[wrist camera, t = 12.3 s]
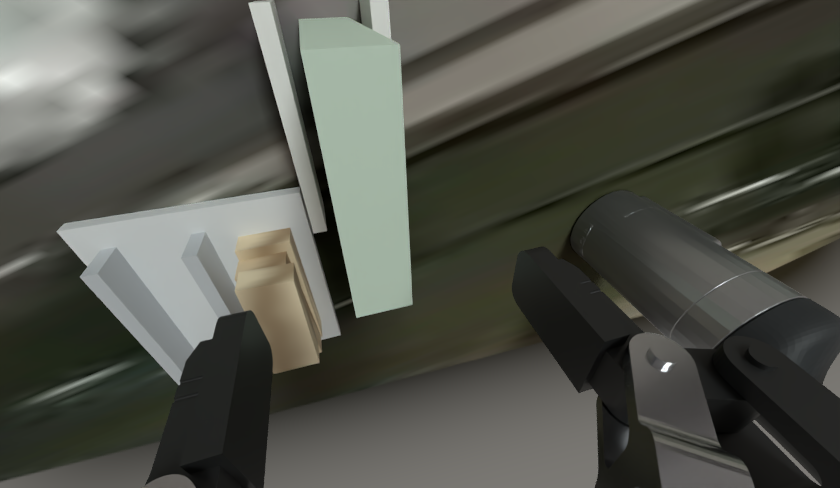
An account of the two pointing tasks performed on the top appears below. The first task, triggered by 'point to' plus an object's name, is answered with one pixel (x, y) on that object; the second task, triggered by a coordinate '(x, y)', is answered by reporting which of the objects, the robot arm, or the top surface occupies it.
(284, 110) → the white stand
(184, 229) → the grey rack
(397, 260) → the sage board
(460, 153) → the top surface
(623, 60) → the top surface
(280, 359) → the offcut stack
